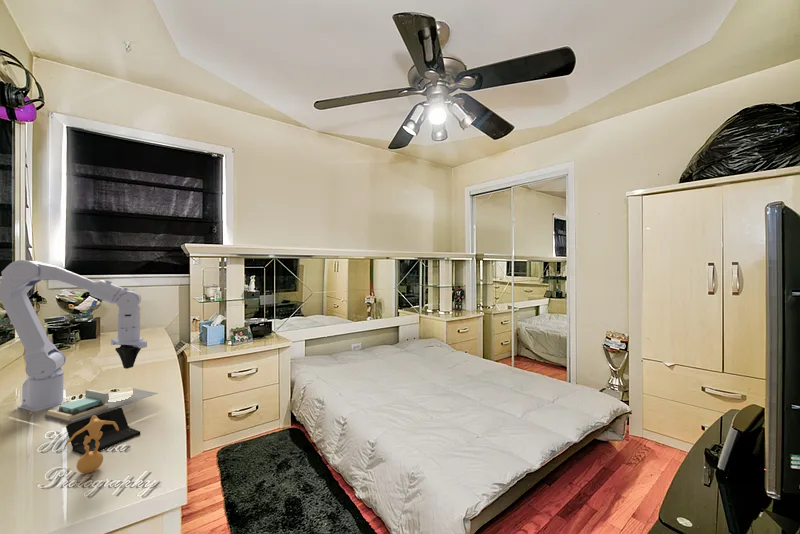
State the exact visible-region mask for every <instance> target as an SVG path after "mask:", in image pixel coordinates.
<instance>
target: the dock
mask: <svg viewBox="0 0 800 534" xmlns="http://www.w3.org/2000/svg"><path fill="white" fill-rule="evenodd" d="M132 389H133V395H132V396H131V397H129V398H128V399H125V400H121V401H116V402H108V403H106V404H104V405H103V406H100V407H95V406H92V407H89V408H86V409H83V410H80V411H79V413H78V414H76V415H73V416H72V414H68V413H64V412H60V411H59V408H58V409H53V408H52V409H49V410H47V413H44V418H49V419H52V420H56V421H60V422H62V423H63V422H64V423H67V424H71V423H74V422H77V421H80V420H83V419H86V418H89V417H92V416H94V415H98V414H101V413H104V412H107V411H111V410H114V409H117V408H121V407H123V406H126V405H128V404H132V403H134V402H137V401H141V400H143V399H146V398H149V397H152V396H154V395H157V394H158V392H154V391H149V390H143V389H138V388H132Z"/></svg>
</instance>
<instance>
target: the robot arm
mask: <svg viewBox="0 0 800 534" xmlns="http://www.w3.org/2000/svg"><path fill="white" fill-rule="evenodd" d="M49 280H52V281H58V282H61V283H62V282H63V283H66V284H68V285H70V286H75V287H77V288H81V289H82V290H83V289H84V290H86V291H87V292H88V293H89V295H90V296H91V297H93V298H96V299H99V300H101V301H103V302H107V303H110V304H113V305H114V304H116V306H117V307H118V315H117V338H111V339H110V345H111V346H114V345H119V346H118V347H115V352H116V353H117V354H118V357H119V358H120V361H121V363H122V367H123V369H125V370H126V369H131V368H133V367H134V364H135V362H136V360H137V357H138V354H140V351H141V350H142V349H144V348H147V347H148V341H146V340H144V338H143V337H141V312H140V311H141V308H140V304H141V302H142V296H141V294H140V293H138V292H137V291H136V290H134V289H131V290H129V287H126V286H124V287H123V286H122V287H121V286H119V285H116V284H114V283H112V282H113V281H112V280H109V279H106V280H103V279H100V280H96V281H94V280H92V279H89V278H87V277H85V276H82V275H80V274H78V273H75V272H73V271H70V270H67V269H65V268H63V267H60V266H57V265H55V264H50V263H45V262H43V261H41V260H26V259H19V260H15V261H12V262H11V263H9V264H8V265H7V266H6V267H5V268H4V269H3V270H2V271H1V280H0V303H1V305H2V307H3V309H4V311H5V312H6V314H7V317H8V318H9V320H10V322H11V324H12V326H13V328H14V330H15V333H16V334H17V336H18V338H19V340H20V343H21V344H22V346H23V348H24V349H25V352H24V358H23V359H24V361H25V369H24V370H25V371H24V372H25V373H26V375H27V376H28V377H27V378H25V380H24V382H23V384H22V386H21V388H22V390H21V391H22V392H21V404H20V405H17V408H18V409H24V410H28V411H30V412H35V413H36V412H39V411H43V410H47V409H49V408H53V407H56V406H61V405H62V404H61V403H62V401H63V400H64V399H65V398H64V379H65V378H64V375H65V374H64V372H65V371H64V370H63V369H62V367H63V366H65V363H66V361H67V358H66V355H65V354H64V353H63V352H62V351H60V350H59V349H58V347H57V346H56V345H55V344H54V343H53V342H51V341H50V339H49V337H48V334H47V333H46V331H45V329H44V327H43V325H42V322H41V321H40V318H39V317H38V315H37V313H36V310H35V308H34V307H33V305H32V302H31V300H30V297H28V293H29V291H30V290H32V288H33V287H34V286H35V285H36V284H37V283H39V282H41V281H49Z"/></svg>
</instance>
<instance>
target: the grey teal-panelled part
mask: <svg viewBox="0 0 800 534" xmlns="http://www.w3.org/2000/svg"><path fill="white" fill-rule="evenodd" d="M84 396H85V397H84V398H81V399H77V400H75V401H72V402H71V401H70V402H66V403H63V404H60V405H58V409H59V411H60V412H64V413H68V414H72V416H73V415H76V414H78V413H79V411H80V410H83V409H86V408H89V407H92V406H95V407H100V406H103V405H104V404H106V403H108V400H109V396H110V395H109V392H107V391H106V392H104V391H100V390H94V389H90V388H88V389H85V395H84Z"/></svg>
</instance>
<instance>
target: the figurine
mask: <svg viewBox="0 0 800 534" xmlns="http://www.w3.org/2000/svg"><path fill="white" fill-rule="evenodd" d="M104 424H113V425H114V427H116V428H115V429H116V430H117V431H119V427H118V426H117V424H116V422H114V421H106V420H100V419H98V418H97V416H95V415H94V416H92V417H91V420H90V423H89V424H88V425H86V426H85V427H84V428H82V429H81V430H79V431H77V432H76V433H75V434H74V435H73V436H72V437H71V438H70V439H68V440H67V441H66V442H65V444H64V449H66V448H67V445H68V444H70V443H71V441H72V440H73V438H74V437H75V436H76V435H78V434H80V433H82V432H83V431H85V430H88V432H89V434H90V436H85V440H84V442H83V444H84V446H85V447H84V449H85V450H86V453H85V454H84V455H81V457H80V458H79V459H78V460H77V463H76V470H77V472H79V473H81V474H91V473H92V472H95V471H96V470H98V469H99V468H100V467H101V465H103V464H102V463H103V462H104V455H103V453H102V452H101V451H99V452H98V446H99V445H100V443H99V442H98V440H99V439H100V438H101V436H102V434H103V432H102V431H100V429H101V427H102V425H104ZM99 431H100V432H99ZM91 439H94V440H96V443H95V446H96V448H95V450H94V451H91V452H89V446H88V445H87V444H88V443H89V442H90V441H91Z"/></svg>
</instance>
